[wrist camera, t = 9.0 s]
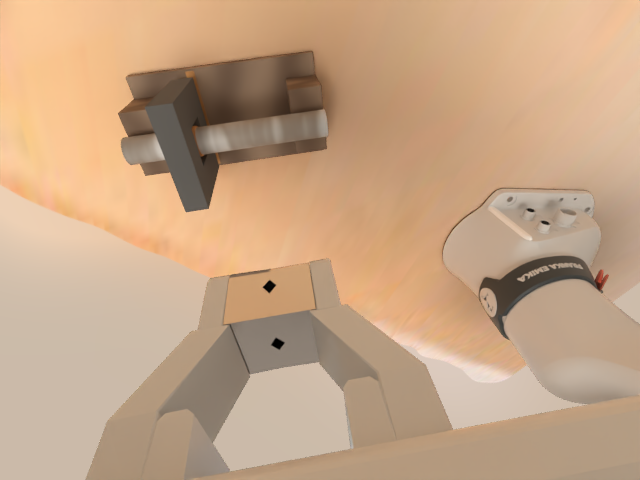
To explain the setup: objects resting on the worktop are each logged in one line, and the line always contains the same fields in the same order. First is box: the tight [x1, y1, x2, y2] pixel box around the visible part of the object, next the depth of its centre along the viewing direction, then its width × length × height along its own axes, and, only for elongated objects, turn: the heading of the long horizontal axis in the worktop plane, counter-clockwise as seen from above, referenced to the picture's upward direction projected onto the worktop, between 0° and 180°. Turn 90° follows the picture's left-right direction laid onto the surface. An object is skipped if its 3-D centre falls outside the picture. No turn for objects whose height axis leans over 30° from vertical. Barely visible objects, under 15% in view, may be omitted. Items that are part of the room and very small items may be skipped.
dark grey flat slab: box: [145, 77, 219, 212], centre depth 31 cm, size 2×9×9 cm, turn 5°
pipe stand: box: [118, 51, 328, 176], centre depth 34 cm, size 18×10×8 cm, turn 96°
